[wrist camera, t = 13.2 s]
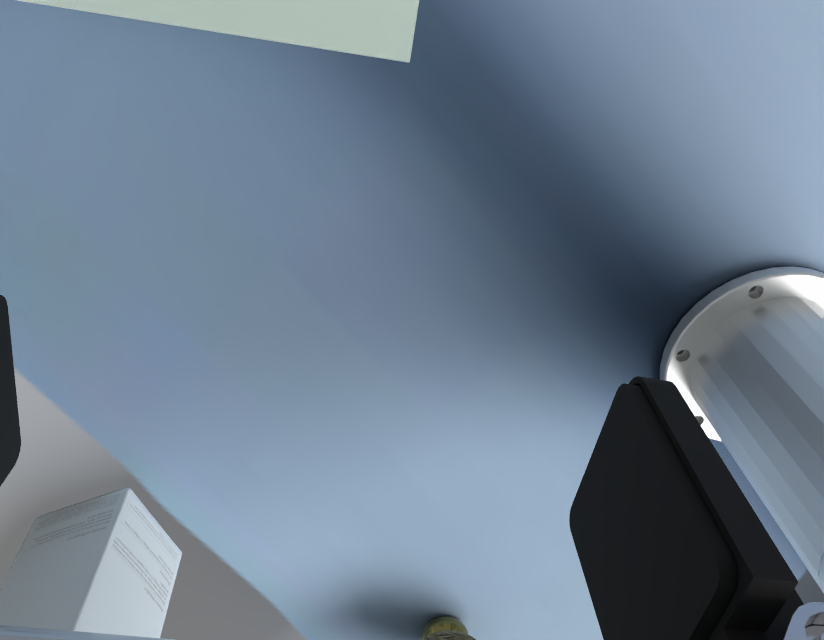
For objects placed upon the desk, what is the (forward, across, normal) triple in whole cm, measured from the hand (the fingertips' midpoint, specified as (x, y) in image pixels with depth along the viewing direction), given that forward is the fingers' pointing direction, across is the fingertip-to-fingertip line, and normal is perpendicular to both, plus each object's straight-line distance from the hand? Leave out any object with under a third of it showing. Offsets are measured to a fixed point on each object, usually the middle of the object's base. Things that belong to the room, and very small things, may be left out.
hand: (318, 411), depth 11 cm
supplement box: (+28, +13, +34) cm, 45 cm away
